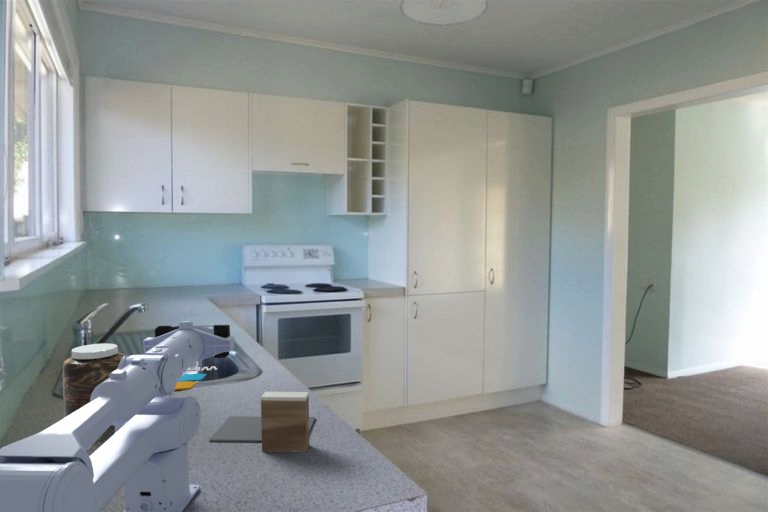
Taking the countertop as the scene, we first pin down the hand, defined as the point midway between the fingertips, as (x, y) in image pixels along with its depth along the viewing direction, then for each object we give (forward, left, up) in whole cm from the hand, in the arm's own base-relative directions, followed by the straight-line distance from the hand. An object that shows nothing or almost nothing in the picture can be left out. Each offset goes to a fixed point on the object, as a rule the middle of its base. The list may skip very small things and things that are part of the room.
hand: (206, 330), depth 97 cm
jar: (+14, +29, -22) cm, 39 cm away
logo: (+41, +25, -22) cm, 53 cm away
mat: (+8, -8, -22) cm, 24 cm away
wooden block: (0, -14, -22) cm, 26 cm away
